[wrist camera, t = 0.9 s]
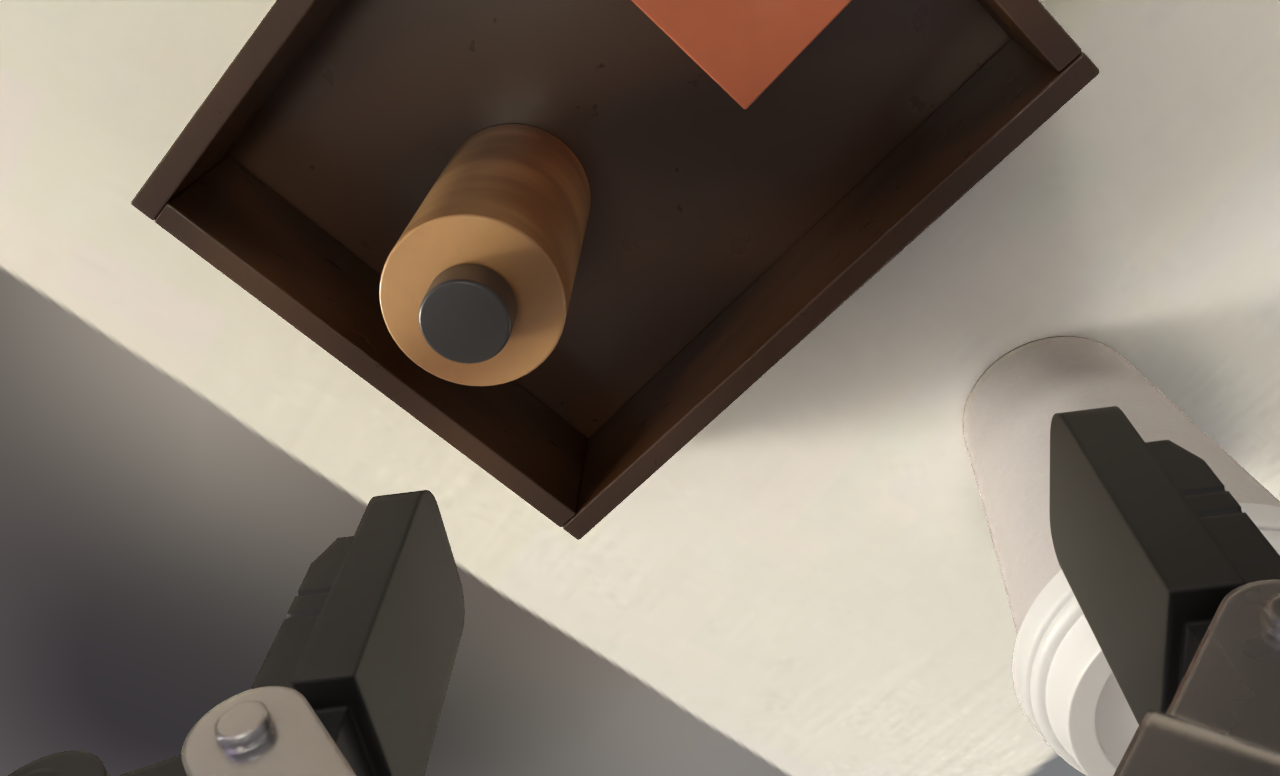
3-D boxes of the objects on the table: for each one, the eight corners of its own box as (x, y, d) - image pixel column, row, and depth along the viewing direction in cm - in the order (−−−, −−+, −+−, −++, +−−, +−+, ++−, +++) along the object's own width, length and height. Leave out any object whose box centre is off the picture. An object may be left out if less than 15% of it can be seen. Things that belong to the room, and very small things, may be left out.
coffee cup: (1129, 536, 43) (1326, 858, 30) (892, 501, 43) (986, 812, 30) (1226, 318, 39) (1507, 585, 26) (962, 277, 38) (1110, 526, 25)
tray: (195, 160, 37) (122, 213, 33) (639, -444, 29) (631, -493, 24) (583, 463, 43) (571, 548, 38) (1053, 24, 34) (1114, 61, 30)
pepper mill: (413, 199, 37) (328, 326, 28) (506, 91, 35) (447, 189, 26) (526, 293, 39) (479, 441, 30) (621, 193, 37) (602, 320, 28)
